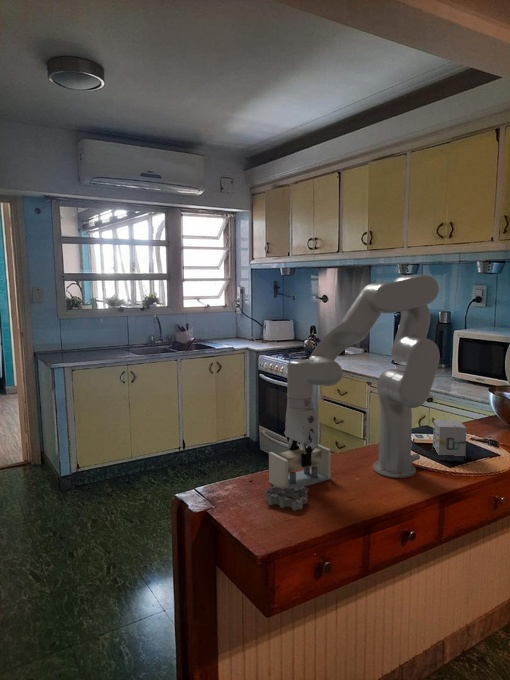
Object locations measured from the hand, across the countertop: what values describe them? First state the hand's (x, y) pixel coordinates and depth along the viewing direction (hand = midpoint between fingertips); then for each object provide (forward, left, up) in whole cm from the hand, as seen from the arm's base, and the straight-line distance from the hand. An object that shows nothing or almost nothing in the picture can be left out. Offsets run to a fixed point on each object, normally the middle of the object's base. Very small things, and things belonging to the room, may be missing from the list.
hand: (300, 462), depth 138 cm
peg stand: (0, 0, -6) cm, 6 cm away
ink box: (-53, +12, -6) cm, 55 cm away
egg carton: (+12, +9, -6) cm, 16 cm away
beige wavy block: (0, 0, -1) cm, 1 cm away
